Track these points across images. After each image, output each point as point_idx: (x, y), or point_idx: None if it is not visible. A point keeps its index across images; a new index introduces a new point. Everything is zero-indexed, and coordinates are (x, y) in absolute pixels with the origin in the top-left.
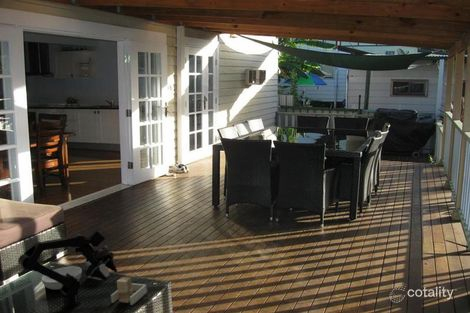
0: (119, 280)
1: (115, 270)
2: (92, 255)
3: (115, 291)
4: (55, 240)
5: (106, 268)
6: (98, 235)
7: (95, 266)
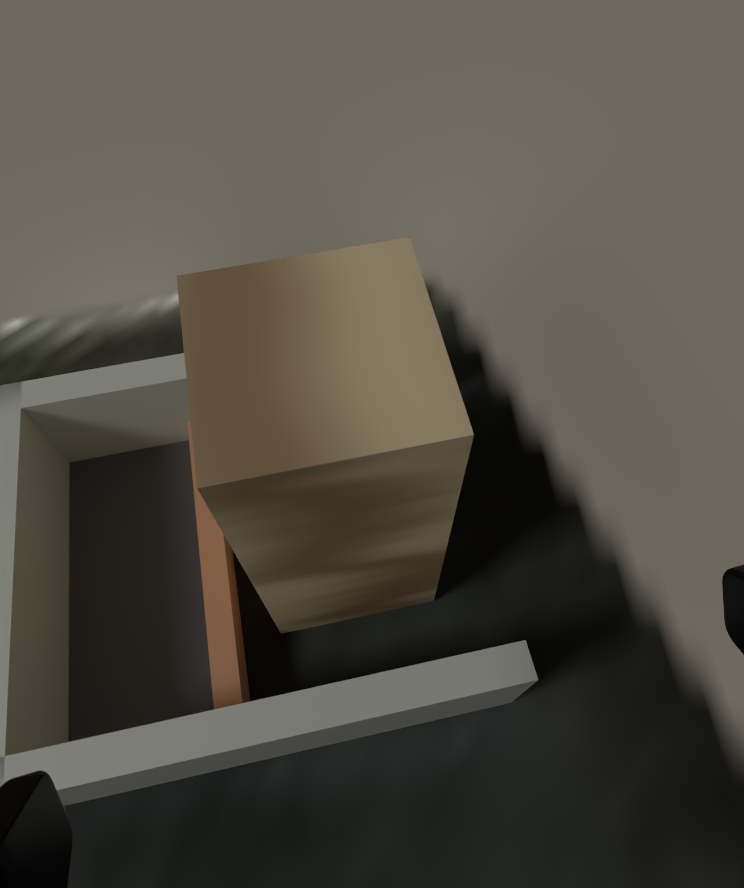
0: (403, 400)
1: (33, 841)
2: None
3: (381, 716)
4: None
5: None
6: None
7: None
